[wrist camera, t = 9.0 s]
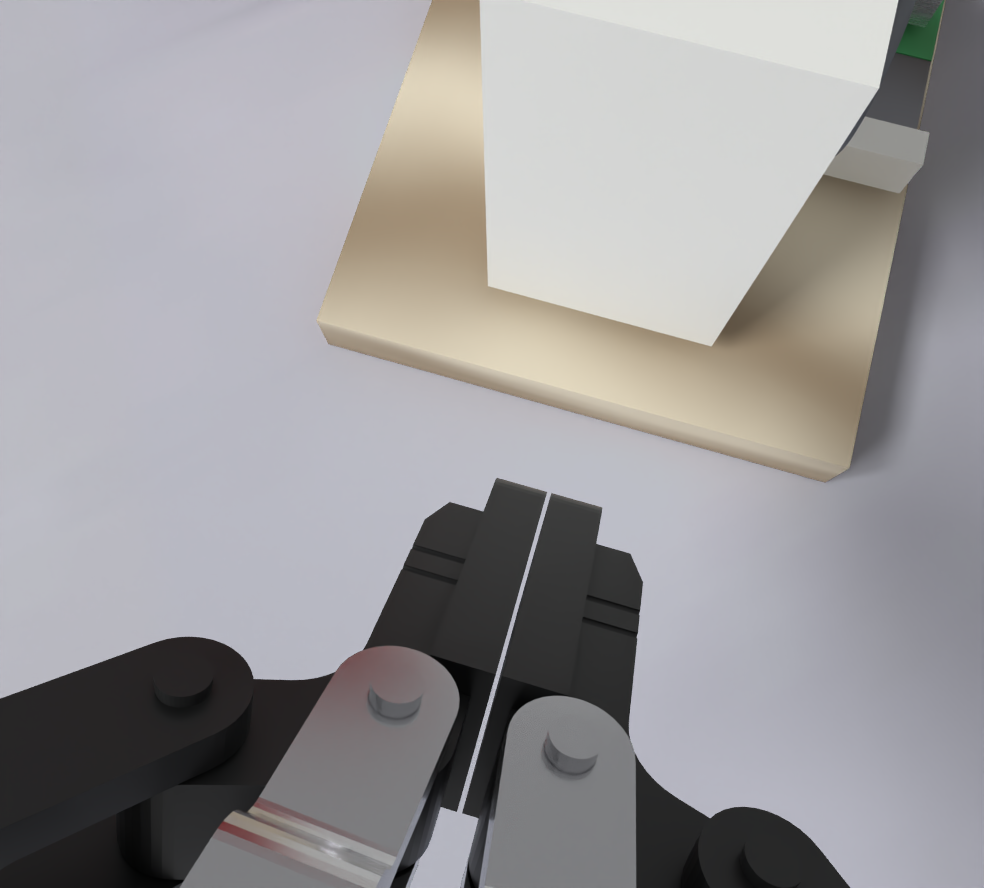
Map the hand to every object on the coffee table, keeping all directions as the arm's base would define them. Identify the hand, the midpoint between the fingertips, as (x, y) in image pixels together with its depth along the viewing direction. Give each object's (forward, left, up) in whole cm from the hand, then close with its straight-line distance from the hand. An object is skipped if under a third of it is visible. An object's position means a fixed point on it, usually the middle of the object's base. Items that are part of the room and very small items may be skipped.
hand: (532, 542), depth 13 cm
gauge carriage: (-4, +9, -6) cm, 12 cm away
